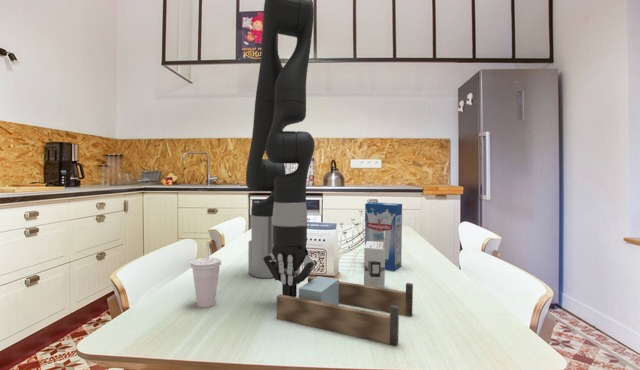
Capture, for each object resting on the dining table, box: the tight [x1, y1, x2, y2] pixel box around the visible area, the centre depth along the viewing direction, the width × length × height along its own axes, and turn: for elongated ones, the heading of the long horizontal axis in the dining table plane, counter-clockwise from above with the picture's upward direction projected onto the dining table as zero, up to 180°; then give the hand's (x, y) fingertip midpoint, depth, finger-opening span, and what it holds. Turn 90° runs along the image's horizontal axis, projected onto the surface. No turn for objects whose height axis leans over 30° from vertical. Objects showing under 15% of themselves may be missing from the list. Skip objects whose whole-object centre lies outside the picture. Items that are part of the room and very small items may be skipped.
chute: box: [276, 276, 414, 347], centre depth 68 cm, size 24×14×6 cm, turn 64°
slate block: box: [298, 275, 340, 306], centre depth 70 cm, size 5×9×6 cm, turn 154°
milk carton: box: [364, 201, 403, 272], centre depth 105 cm, size 10×6×20 cm, turn 58°
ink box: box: [363, 231, 386, 288], centre depth 82 cm, size 9×5×15 cm, turn 168°
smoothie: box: [190, 240, 222, 308], centre depth 73 cm, size 6×6×14 cm
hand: (289, 300), depth 73 cm, fingers closed
